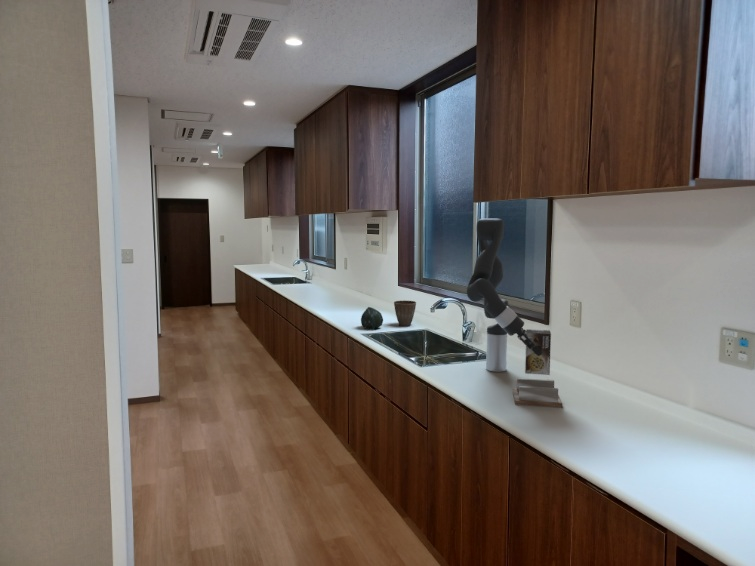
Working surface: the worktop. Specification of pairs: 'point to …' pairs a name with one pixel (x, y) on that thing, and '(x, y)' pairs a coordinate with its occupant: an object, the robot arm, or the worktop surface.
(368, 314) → the squash
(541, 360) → the coffee box
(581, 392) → the worktop surface
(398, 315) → the plant pot
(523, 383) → the clevis cradle
